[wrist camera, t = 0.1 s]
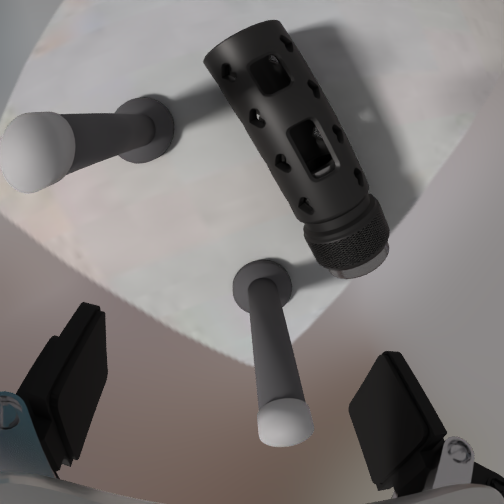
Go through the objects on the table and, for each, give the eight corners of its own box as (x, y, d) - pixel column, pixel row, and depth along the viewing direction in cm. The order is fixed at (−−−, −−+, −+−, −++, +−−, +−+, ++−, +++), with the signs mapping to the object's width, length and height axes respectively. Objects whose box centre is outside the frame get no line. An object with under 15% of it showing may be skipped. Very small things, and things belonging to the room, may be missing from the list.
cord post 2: (270, 249, 42) (308, 387, 20) (300, 291, 45) (350, 431, 23) (221, 280, 44) (214, 428, 22) (253, 319, 47) (270, 465, 25)
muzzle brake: (274, 34, 32) (288, 8, 22) (374, 223, 42) (409, 254, 33) (204, 71, 33) (195, 54, 24) (314, 257, 44) (335, 296, 34)
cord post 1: (149, 85, 33) (40, 49, 11) (187, 135, 36) (118, 160, 14) (100, 126, 35) (-37, 152, 12) (136, 174, 38) (28, 251, 15)
